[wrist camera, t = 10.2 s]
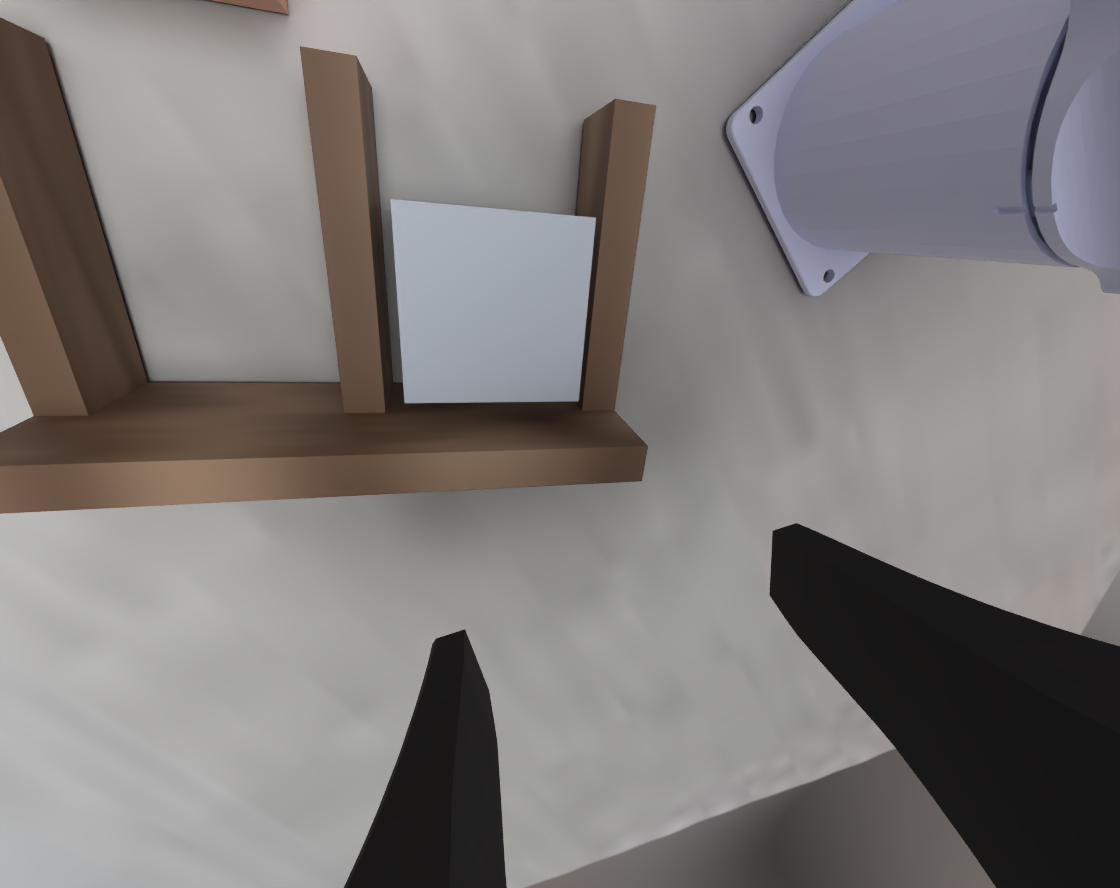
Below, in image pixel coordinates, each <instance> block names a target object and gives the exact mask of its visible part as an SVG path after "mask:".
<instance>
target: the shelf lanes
mask: <svg viewBox="0 0 1120 888" xmlns="http://www.w3.org/2000/svg"><path fill="white" fill-rule="evenodd" d="M300 52H301V60H302V68H303V77H304V85H305V93H306V101H307V110H308V118H309V126H310V134H311V143H312V151H313V159H314V167H315V176H316V184H317V192H318V201H319V209H320V217H321V225H322V234H323V242H324V250H325V258H326V267H327V275H328V283H329V291H330V300H331V308H332V316H333V324H334V333H335V341H336V349H337V357H338V366H339V374H340V382H341V383H183V382H148V381H147V378H146V375H145V371H144V368H143V365H142V361H141V358H140V355H139V351H138V348H137V345H136V341H135V338H134V335H133V331H132V328H131V325H130V321H129V318H128V315H127V311H126V308H125V305H124V301H123V298H122V295H121V291H120V288H119V285H118V281H117V278H116V275H115V271H114V268H113V265H112V261H111V258H110V255H109V252H108V248H107V245H106V242H105V238H104V235H103V232H102V228H101V225H100V222H99V218H98V215H97V212H96V208H95V205H94V202H93V198H92V195H91V192H90V188H89V185H88V182H87V178H86V175H85V172H84V168H83V165H82V162H81V158H80V155H79V152H78V148H77V145H76V142H75V138H74V135H73V132H72V128H71V125H70V122H69V118H68V115H67V112H66V108H65V105H64V102H63V98H62V95H61V92H60V88H59V85H58V82H57V79H56V75H55V72H54V69H53V65H52V62H51V59H50V55H49V52H48V49H47V45H46V42H45V39H44V38H43V37H41V36H39V35H36V34H34V33H32V32H30V31H28V30H26V29H24V28H21V27H19V26H17V25H15V24H13V23H11V22H9V21H6V20H4V19H2V18H0V336H1V338H2V341H3V343H4V346H5V348H6V350H7V353H8V355H9V358H10V360H11V362H12V365H13V367H14V369H15V372H16V374H17V377H18V379H19V381H20V384H21V386H22V388H23V391H24V393H25V396H26V398H27V400H28V403H29V405H30V408H31V410H32V412H33V415H34V416H33V417H31V418H29V419H27V420H25V421H23V422H21V423H19V424H17V425H15V426H13V427H11V428H9V429H7V430H5V431H3V432H0V514H1V513H21V512H40V511H60V510H80V509H100V508H119V507H139V506H159V505H179V504H199V503H218V502H238V501H258V500H278V499H298V498H317V497H337V496H357V495H377V494H396V493H416V492H436V491H456V490H476V489H495V488H515V487H535V486H555V485H575V484H594V483H614V482H634V481H642V477H643V471H644V466H645V460H646V454H647V449H648V446H647V445H646V444H645V443H644V442H643V440H642V439H641V438H640V437H639V436H638V435H637V434H636V433H635V432H634V431H633V430H632V429H631V428H630V427H629V426H628V424H627V423H626V422H625V421H624V420H623V419H622V418H621V417H620V416H619V415H618V414H617V413H616V412H615V411H614V409H615V402H616V394H617V387H618V380H619V373H620V365H621V358H622V351H623V343H624V336H625V329H626V322H627V314H628V307H629V300H630V292H631V285H632V278H633V271H634V263H635V256H636V249H637V242H638V234H639V227H640V220H641V212H642V205H643V198H644V191H645V183H646V176H647V169H648V162H649V154H650V147H651V140H652V132H653V125H654V118H655V111H656V106H655V105H649V104H643V103H637V102H631V101H625V100H619V99H614V100H613V101H612V102H610V103H609V104H607V105H606V106H604V107H603V108H601V109H600V110H598V111H597V112H595V113H594V114H592V115H591V116H589V117H588V118H586V119H585V120H584V129H583V141H582V153H581V165H580V176H579V188H578V200H577V212H576V216H583V217H594V218H596V224H595V234H594V245H593V255H592V266H591V276H590V286H589V297H588V307H587V318H586V328H585V339H584V349H583V360H582V370H581V381H580V391H579V401H559V402H469V403H405V402H404V388H403V384H394V383H393V376H392V362H391V348H390V334H389V320H388V306H387V293H386V279H385V265H384V251H383V237H382V223H381V210H380V196H379V182H378V168H377V154H376V140H375V127H374V113H373V99H372V87H371V85H370V83H369V81H368V79H367V77H366V75H365V73H364V71H363V69H362V67H361V65H360V63H359V61H358V58H357V56H354V55H348V54H342V53H336V52H330V51H324V50H318V49H312V48H306V47H300Z"/></svg>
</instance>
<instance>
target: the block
mask: <svg viewBox="0 0 1120 888" xmlns="http://www.w3.org/2000/svg"><path fill="white" fill-rule="evenodd" d="M390 201H391V215H392V230H393V244H394V258H395V273H396V287H397V301H398V316H399V330H400V345H401V359H402V373H403V388H404V402H405V403H469V402H559V401H579V391H580V381H581V370H582V360H583V349H584V339H585V328H586V318H587V307H588V297H589V286H590V276H591V266H592V255H593V245H594V234H595V224H596V218H594V217H583V216H572V215H561V214H550V213H539V212H528V211H517V210H506V209H495V208H484V207H473V206H462V205H451V204H439V203H428V202H417V201H406V200H395V199H390Z"/></svg>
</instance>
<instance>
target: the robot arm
mask: <svg viewBox="0 0 1120 888" xmlns="http://www.w3.org/2000/svg"><path fill="white" fill-rule="evenodd" d="M751 109H754V110H755V112H756V120H755V122H754V123H753V124H752V123H751V121H750V118H749V115H750V111H751ZM726 133H727V137H728V139H729V141H730V144H731V146H732V148H733V150H734V152H735V154H736V156H737V158H738V160H739V162H740V164H741V166H742V168H743V170H744V172H745V174H746V176H747V178H748V180H749V182H750V184H751V186H752V188H753V190H754V192H755V194H756V196H757V198H758V200H759V202H760V204H761V206H762V208H763V210H764V212H765V214H766V216H767V218H768V220H769V223H770V225H771V227H772V229H773V231H774V233H775V235H776V237H777V239H778V241H779V243H780V245H781V247H782V249H783V251H784V253H785V255H786V257H787V259H788V261H789V263H790V265H791V267H792V269H793V271H794V273H795V275H796V277H797V279H798V281H799V283H800V285H801V287H802V289H803V291H804V293H805V294H806V295H809V296H813V297H817V296H820V295H821V294H823V293H824V292H825V291H826V290H828V289H829V288H830V287H831V286H832V285H833V284H835V283H836V282H837V281H838V280H839V279H840V278H841V277H843V276H844V275H845V274H846V273H847V272H848V271H850V270H851V269H852V268H853V267H854V266H855V265H857V264H858V263H859V262H860V261H861V260H862V259H864V258H865V257H866V256H867V255H868V254H869V253H870V252H872V253H885V254H899V255H913V256H926V257H940V258H954V259H968V260H981V261H995V262H1009V263H1022V264H1036V265H1050V266H1063V267H1082V268H1085V269H1088V270H1091V271H1092V272H1094V273H1095V274H1096V275H1097V277H1098V278H1099V280H1100V285H1101V289H1102V291H1103V292H1105V293H1115V294H1120V0H852V1H851V2H850V3H849V4H848V5H847V6H846V7H845V8H844V9H843V10H842V11H841V12H840V13H839V14H838V15H836V16H835V17H834V18H833V19H832V20H831V21H830V22H829V23H828V24H827V25H826V26H825V27H824V28H823V29H822V30H821V31H820V32H819V33H817V34H816V35H815V36H814V37H813V38H812V39H811V40H810V41H809V42H808V43H807V44H806V45H805V46H804V47H803V48H802V49H801V50H800V51H799V52H797V53H796V54H795V55H794V56H793V57H792V58H791V59H790V60H789V61H788V62H787V63H786V64H785V65H784V66H783V67H782V68H781V69H780V70H778V71H777V72H776V73H775V74H774V75H773V76H772V77H771V78H770V79H769V80H768V81H767V82H766V83H765V84H764V85H763V86H762V87H761V88H759V89H758V90H757V91H756V92H755V93H754V94H753V95H752V96H751V97H750V98H749V99H748V100H747V101H746V102H745V103H744V104H743V105H742V106H740V107H739V108H738V109H737V110H736V111H735V112H734V113H733V114H732V115H731V117H730V118H729V120H728V123H727V125H726ZM826 271H827V273H828V274H827V277H826V279H825V280H824V279H823V277H824V274H825V272H826ZM770 596H771V598H772V599H773V601H774V602H775V604H776V605H777V607H778V608H779V610H780V611H781V613H782V614H783V616H784V617H785V619H786V620H787V621H788V623H789V624H790V626H791V627H792V628H793V630H794V631H795V632H796V634H797V635H798V636H799V638H800V639H801V640H802V641H803V642H804V643H805V645H806V646H807V647H808V648H809V649H810V650H811V651H812V653H813V654H814V655H815V656H816V657H817V658H818V659H819V661H820V662H821V663H822V664H823V665H824V666H825V667H826V669H827V670H828V671H829V672H830V673H831V674H832V675H833V676H834V678H835V679H836V680H837V681H838V682H839V683H840V684H841V685H842V687H843V688H844V689H845V690H846V691H847V692H848V693H849V694H850V696H851V697H852V698H853V699H854V700H855V701H856V702H857V703H858V705H859V706H860V707H861V708H862V709H863V710H864V711H865V712H866V714H867V715H868V716H869V717H870V718H871V719H872V720H873V721H874V723H875V724H876V725H877V726H878V727H879V728H880V730H881V731H882V732H883V733H884V734H885V736H886V737H887V738H888V739H889V740H890V742H891V743H892V744H893V745H894V746H895V748H896V749H897V750H898V752H899V753H900V754H901V756H902V757H903V758H904V760H905V761H906V762H907V764H908V765H909V766H910V768H911V769H912V770H913V772H914V773H915V774H916V776H917V777H918V778H919V780H920V781H921V782H922V784H923V785H924V786H925V788H926V789H927V790H928V792H929V793H930V794H931V796H932V797H933V798H934V800H935V801H936V803H937V804H938V805H939V807H940V808H941V809H942V811H943V812H944V814H945V815H946V816H947V818H948V819H949V821H950V822H951V823H952V825H953V826H954V828H955V829H956V830H957V832H958V833H959V835H960V836H961V837H962V839H963V840H964V842H965V843H966V844H967V846H968V847H969V848H970V850H971V851H972V853H973V854H974V856H975V857H976V858H977V860H978V861H979V863H980V864H981V866H982V867H983V869H984V870H985V872H986V873H987V875H988V876H989V878H990V879H991V880H992V882H993V884H994V885H995V886H996V888H1120V646H1116V645H1113V644H1109V643H1106V642H1102V641H1098V640H1095V639H1092V638H1088V637H1085V636H1081V635H1078V634H1075V633H1072V632H1068V631H1065V630H1062V629H1059V628H1056V627H1052V626H1049V625H1046V624H1043V623H1041V622H1038V621H1035V620H1032V619H1029V618H1026V617H1023V616H1020V615H1017V614H1014V613H1011V612H1008V611H1005V610H1002V609H999V608H997V607H994V606H991V605H988V604H985V603H983V602H980V601H977V600H975V599H972V598H970V597H967V596H965V595H962V594H959V593H957V592H954V591H952V590H949V589H947V588H944V587H942V586H939V585H937V584H934V583H932V582H929V581H927V580H924V579H922V578H920V577H917V576H915V575H913V574H910V573H908V572H906V571H903V570H901V569H899V568H896V567H894V566H892V565H889V564H887V563H885V562H883V561H880V560H878V559H876V558H874V557H871V556H869V555H867V554H865V553H863V552H860V551H858V550H856V549H854V548H851V547H849V546H847V545H845V544H843V543H840V542H838V541H836V540H834V539H832V538H829V537H827V536H825V535H823V534H821V533H818V532H816V531H814V530H811V529H809V528H807V527H804V526H802V525H800V524H797V523H796V524H793V525H789V526H786V527H783V528H780V529H777V530H774V531H773V538H772V558H771V578H770ZM344 888H507V886H506V875H505V861H504V844H503V827H502V811H501V794H500V778H499V762H498V747H497V737H496V731H495V724H494V718H493V712H492V706H491V700H490V694H489V689H488V687H487V684H486V682H485V679H484V677H483V674H482V672H481V669H480V667H479V664H478V661H477V659H476V656H475V654H474V651H473V649H472V646H471V644H470V641H469V638H468V636H467V633H466V631H465V630H462V631H459V632H455V633H452V634H449V635H446V636H443V637H440V638H437V639H436V640H435V641H434V643H433V644H432V648H431V653H430V657H429V661H428V665H427V669H426V672H425V676H424V679H423V683H422V686H421V690H420V693H419V696H418V700H417V703H416V706H415V710H414V713H413V716H412V719H411V721H410V724H409V727H408V730H407V733H406V736H405V739H404V742H403V745H402V748H401V751H400V754H399V757H398V759H397V762H396V765H395V767H394V770H393V773H392V775H391V778H390V780H389V783H388V785H387V788H386V791H385V793H384V796H383V798H382V801H381V804H380V806H379V809H378V811H377V814H376V816H375V819H374V821H373V823H372V826H371V828H370V830H369V833H368V835H367V837H366V840H365V842H364V844H363V847H362V849H361V851H360V853H359V856H358V858H357V860H356V862H355V865H354V867H353V869H352V871H351V873H350V876H349V878H348V880H347V882H346V884H345V886H344Z"/></svg>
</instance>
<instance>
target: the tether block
mask: <svg viewBox="0 0 1120 888" xmlns="http://www.w3.org/2000/svg"><path fill="white" fill-rule="evenodd" d="M212 1H218V2H223V3H229V4H234V5H240V6H245V7H251V8H256V9H262V10H267V11H273V12H278V13H284V14H288V7H287V0H212Z"/></svg>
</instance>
